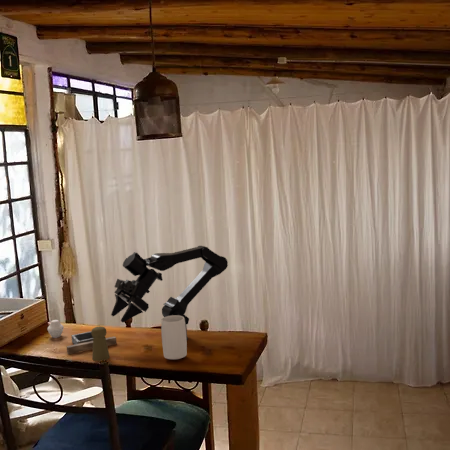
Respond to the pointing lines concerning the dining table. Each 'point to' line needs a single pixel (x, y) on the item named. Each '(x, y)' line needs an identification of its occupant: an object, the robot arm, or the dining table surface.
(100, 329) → the olive brown shaker
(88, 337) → the collar
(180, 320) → the cup
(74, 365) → the dining table surface
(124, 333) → the dining table surface
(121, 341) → the dining table surface
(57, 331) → the white vase
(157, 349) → the dining table surface
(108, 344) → the door edge strip
